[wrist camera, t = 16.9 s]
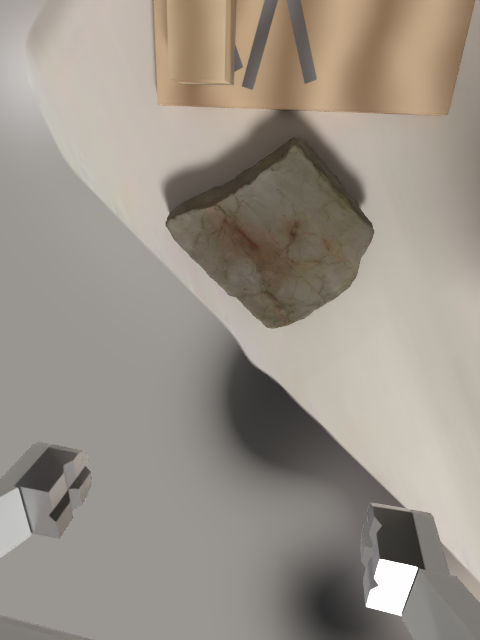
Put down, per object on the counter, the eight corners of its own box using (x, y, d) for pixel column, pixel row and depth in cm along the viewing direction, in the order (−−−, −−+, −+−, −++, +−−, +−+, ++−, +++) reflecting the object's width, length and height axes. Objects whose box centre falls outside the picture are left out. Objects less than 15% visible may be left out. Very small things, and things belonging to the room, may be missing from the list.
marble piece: (169, 216, 41) (154, 224, 37) (276, 102, 35) (270, 98, 31) (276, 330, 44) (272, 348, 40) (391, 243, 38) (399, 255, 34)
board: (479, -43, 28) (487, -52, 27) (442, 115, 32) (447, 114, 31) (158, -36, 32) (151, -44, 31) (163, 105, 36) (157, 104, 35)
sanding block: (237, -22, 30) (227, -40, 27) (234, 85, 33) (224, 80, 30) (181, -21, 31) (165, -38, 28) (183, 84, 34) (168, 79, 31)
